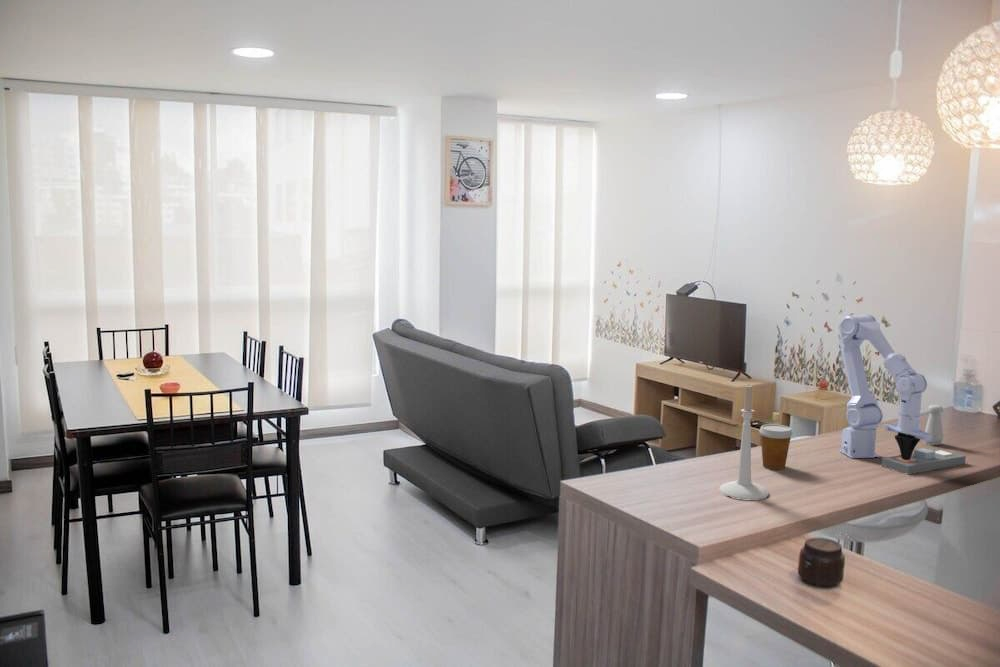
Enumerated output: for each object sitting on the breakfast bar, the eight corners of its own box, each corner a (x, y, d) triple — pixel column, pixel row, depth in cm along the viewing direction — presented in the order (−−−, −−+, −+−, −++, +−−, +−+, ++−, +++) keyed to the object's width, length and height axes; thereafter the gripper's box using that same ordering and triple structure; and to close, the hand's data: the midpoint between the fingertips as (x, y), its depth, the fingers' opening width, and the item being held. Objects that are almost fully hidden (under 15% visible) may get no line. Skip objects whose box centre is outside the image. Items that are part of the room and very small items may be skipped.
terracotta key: (906, 469, 245) (906, 461, 245) (894, 465, 249) (895, 458, 248) (915, 467, 247) (916, 459, 246) (904, 464, 250) (904, 456, 250)
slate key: (925, 460, 248) (926, 453, 248) (913, 457, 252) (914, 449, 251) (934, 459, 250) (935, 451, 250) (922, 455, 253) (923, 448, 253)
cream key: (943, 462, 252) (943, 455, 251) (931, 459, 255) (932, 451, 255) (952, 461, 253) (952, 453, 253) (940, 457, 257) (940, 450, 257)
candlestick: (778, 495, 223) (784, 386, 219) (744, 503, 217) (749, 391, 213) (743, 482, 234) (748, 377, 230) (709, 489, 228) (713, 382, 224)
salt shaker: (946, 446, 271) (949, 407, 270) (928, 446, 272) (931, 407, 270) (937, 441, 277) (940, 403, 275) (919, 441, 277) (922, 403, 276)
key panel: (907, 474, 242) (908, 466, 241) (881, 466, 250) (882, 458, 250) (965, 464, 252) (965, 456, 252) (938, 456, 260) (939, 448, 260)
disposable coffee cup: (779, 473, 242) (781, 433, 241) (750, 466, 250) (752, 427, 248) (797, 467, 248) (799, 428, 247) (768, 460, 256) (770, 422, 254)
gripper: (940, 418, 241) (936, 464, 243) (897, 408, 254) (894, 451, 256) (923, 421, 238) (920, 467, 240) (881, 410, 251) (878, 454, 253)
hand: (905, 459), depth 247 cm, fingers closed, pressing on terracotta key
